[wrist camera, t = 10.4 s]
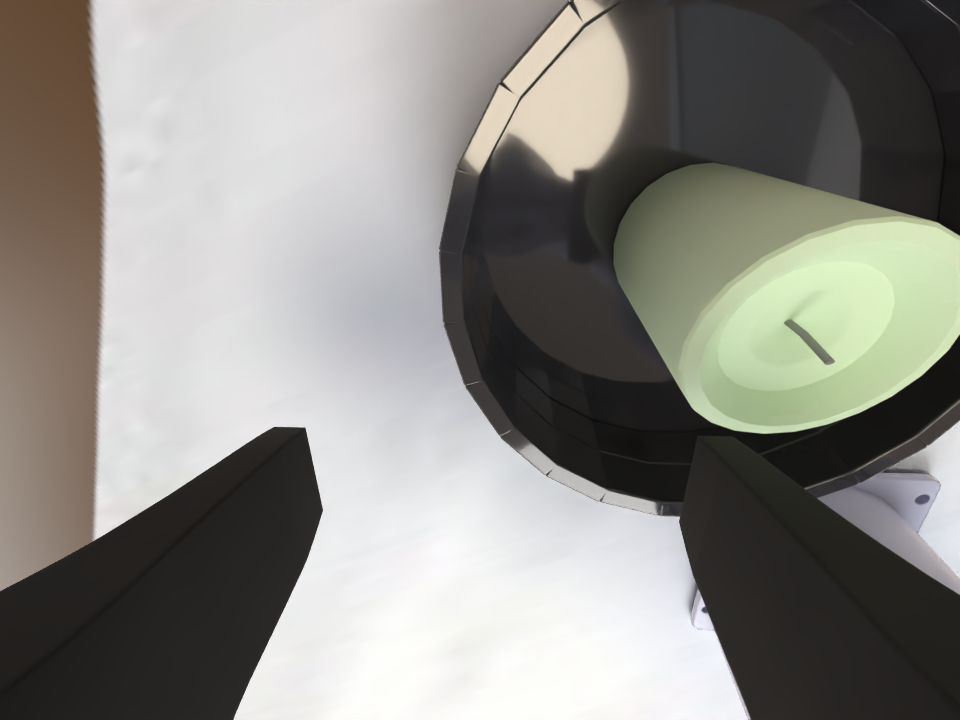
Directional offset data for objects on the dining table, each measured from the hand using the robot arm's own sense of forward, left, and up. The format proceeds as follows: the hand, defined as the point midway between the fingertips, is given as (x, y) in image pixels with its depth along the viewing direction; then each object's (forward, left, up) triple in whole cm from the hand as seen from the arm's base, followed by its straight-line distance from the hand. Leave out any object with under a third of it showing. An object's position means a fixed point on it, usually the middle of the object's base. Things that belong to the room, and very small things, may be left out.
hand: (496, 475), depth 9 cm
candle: (+2, -6, -9) cm, 11 cm away
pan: (+2, -6, -9) cm, 11 cm away
